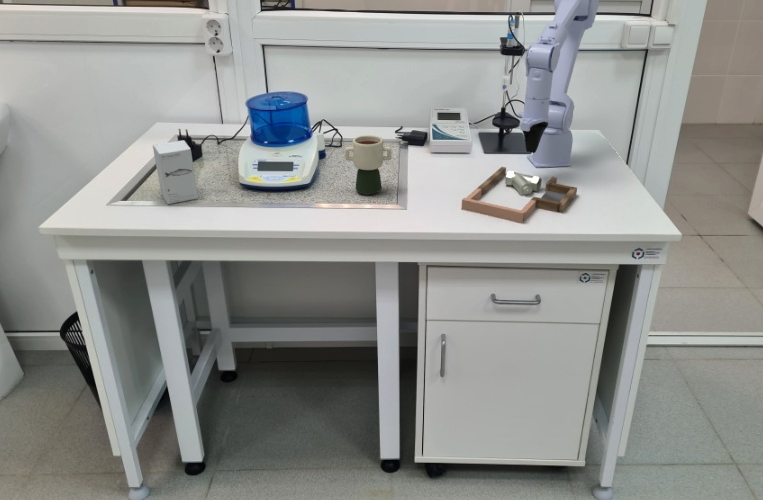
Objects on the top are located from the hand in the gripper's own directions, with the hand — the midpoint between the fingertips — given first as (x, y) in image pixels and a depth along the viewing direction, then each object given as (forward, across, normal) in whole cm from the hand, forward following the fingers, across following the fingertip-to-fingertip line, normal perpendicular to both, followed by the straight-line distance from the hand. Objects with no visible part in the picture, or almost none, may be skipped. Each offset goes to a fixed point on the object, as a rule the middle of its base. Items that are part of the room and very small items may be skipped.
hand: (531, 151), depth 156 cm
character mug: (+8, +26, -31) cm, 41 cm away
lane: (+7, +8, +3) cm, 11 cm away
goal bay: (+8, +19, 0) cm, 21 cm away
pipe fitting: (+8, +7, 0) cm, 11 cm away
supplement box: (+8, +52, -68) cm, 86 cm away
